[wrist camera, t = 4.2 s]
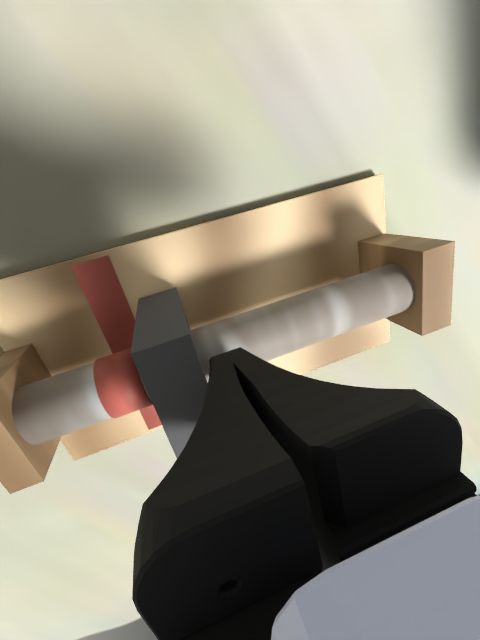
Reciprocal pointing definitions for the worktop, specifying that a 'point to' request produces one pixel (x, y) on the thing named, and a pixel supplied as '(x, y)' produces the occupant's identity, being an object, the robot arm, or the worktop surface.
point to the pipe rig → (206, 313)
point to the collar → (169, 364)
